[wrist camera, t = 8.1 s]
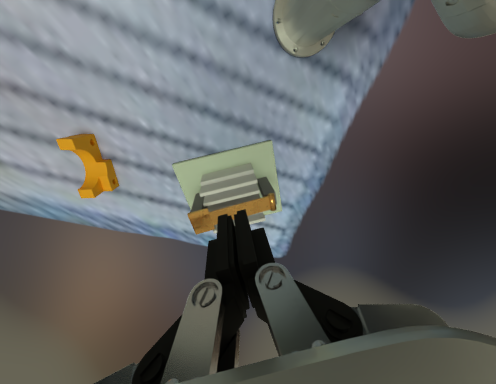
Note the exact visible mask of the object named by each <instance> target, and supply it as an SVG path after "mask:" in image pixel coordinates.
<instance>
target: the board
mask: <svg viewBox="0 0 496 384" xmlns="http://www.w3.org/2000/svg"><path fill="white" fill-rule="evenodd" d="M172 166H173V169H174V171H175V173H176V176H177V178H178V181H179V183H180V185H181V188H182V190H183V192H184V195H185V197H186V200H187V202H188V204H189V207H190V209H191V212H194V211H198V210H202V209H205V208H208V210H209V212H211V211H215V210H218V209H222V208H226V207H229V206H233V205H237V204H240V203H244V202H248V201H251V200H255V199H259V198H262V197H266V196H267V195H268V194H269V193H274V196H275V202H276V208H277V209H276V210H275V211H271V210H267V211H263V212H260V213H256V214H253V215H249V216H248V220H249V224H253V223H257V222H261V221H265V217H264V215H268V214H272V213H276V212H280V211H282V207H281V200H280V193H279V186H278V180H277V173H276V166H275V159H274V153H273V146H272V141H271V140H269V141H264V142H260V143H256V144H252V145H248V146H244V147H240V148H236V149H231V150H227V151H223V152H219V153H215V154H211V155H207V156H202V157H198V158H194V159H190V160H186V161H182V162H178V163H173V164H172ZM191 212H190V213H191ZM233 222H234V220H233ZM234 226H235V223H234ZM214 227H215V229H214V230H213V231H214V233H217V225H214Z"/></svg>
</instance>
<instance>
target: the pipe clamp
mask: <svg viewBox="0 0 496 384" xmlns="http://www.w3.org/2000/svg"><path fill="white" fill-rule="evenodd" d="M56 140H57V143H58V145H59V147H60V150H70V151H73V152H74V153H76V154H77V155H78V156H79V157H80V158H81V160H82V162H83V164H84V166H85V171H86V177H85V181H84V184H83V185H82V187H81V188H80V189H78V192H79V194H80V196H81V198H95V197H96V196H98V195H99V194H101V193H102V192H103V191H113V190H114V189H115V188H117V187H118V186H119V183H118V180H117V177H116V174H115V171H114V168H113V164H112V161H111V159H107V160H103V159H102V156H101V153H100V150H99V147H98V144H97V141H96V138H95V136H94V134H79V135H74V136H69V137H64V138H60V139H56Z"/></svg>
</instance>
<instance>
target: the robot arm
mask: <svg viewBox="0 0 496 384" xmlns="http://www.w3.org/2000/svg"><path fill="white" fill-rule="evenodd" d="M379 1H380V0H275V4H274V9H273V26H274V31H275V35H276V37H277V40H278V42H279V43H280V45H281V46H282V48H283V49H284V50H285V51H286V52H288V53H289V54H290V55H293V56H295V57H301V58H303V57H309V56H312V55H314V54H316V53H318V52H319V51H320V50H322V49H323V48H324V47H325V46H326V45H327V44H328V42H329V41H330V39H331V38H332V36H333V34H334V32H335V30H337V29H338V28H340V27H341V26H343V25H345V24H346V23H348V22H349V21H351V20H352V19H354V18H355V17H357V16H360V15H362V14H363V12H364V11H366V10H367V9H369V8H370V7H372V6H373V5H375V4H376V3H378V2H379ZM431 1H432V3H433V5H434V7H435V9H436V11H437V13H438V14H439V16H440V18H441V20H442V22H443V23H444V25H445V26H446V28H447V29H448V30H449V31H450V32H451V33H453V34H454V35H456V36H458V37H462V38H477V37H482V36H486V35H490V34H493V33H496V0H431ZM276 22H278V23H279V24H277V23H276ZM320 43H321V45H320ZM293 49H294V50H295V52H294V51H293ZM234 223H235V226H234ZM248 295H249V298H250V301H251V304H252V307H253V308H255V310H256V313H257V316H258V317H259V318H260V319H261V320H263V321H264V322H266V323H267V324H268V327H269V330H270V333H271V336H272V339H273V341H274V344H275V347H276V350H277V353H278V356H279V357H276V358H272V359H268V360H264V361H261V362H257V363H253V364H249V365H245V366H241V367H238V362H239V344H240V326H241V325H242V323H243V321H244V318H246V317H247V315H246V310H247V309H249V300H248ZM94 384H496V338H495V337H492V336H489V335H485V334H482V333H478V332H474V331H470V330H464V329H460V328H455V327H449V326H448V325H447V324H446V323H445V321H444V320H443V319H442V318H441V317H440V316H439V315H437V314H436V313H434V312H433V311H431V310H430V309H428V308H425V307H423V306H421V305H414V304H358V307H349V306H348V305H346V304H344V303H342V302H340V301H338V300H336V299H334V298H332V297H330V296H327V295H325V294H323V293H321V292H319V291H317V290H314V289H313V288H311V287H308V286H306V285H304V284H302V283H300V282H298V281H296V280H293V278H292V277H291V275H290V273H289V272H288V270H287V269H286V268H285V267H284V266H282V265H281V264H278V263H275V261H274V258H273V255H272V252H271V249H270V246H269V242H268V239H267V236H266V233H265V230H264V228H259V229H255V230H251V228H250V224H249V220H248V216H247V213H246V209H244V210H240V211H237V214H234V222H233V219H232V216H231V215H230V216H228V214H224V215H220V216H218V222H217V239H215V240H211V241H209V243H208V252H207V262H206V270H205V280H203V281H201V282H199V283H198V284H197V285H195V287H194V288H193V289H192V290H191V293H190V294H189V296H188V299H187V303H186V306H185V309H184V312H183V314H182V316H180V317H179V319H178V320H177V321H176V322H175V323H174V324H173V325H172V326H171V327H170V328H169V329H168V330H167V332H166V333H165V334H164V335H163V336H162V337H161V338H160V339H159V340H158V342H157V343H156V344H155V345H154V346H153V347H152V348H151V349H150V350H149V351H148V352H147V353H146V354H145V356H144V357H143V358H142V360H141V361H140V363H138V364H135V363H132V364H130V365H128V366H126V367H124V368H122V369H121V370H119V371H117V372H115V373H113V374H111V375H109V376H107V377H105V378H103V379H101V380H100V381H98V382H96V383H94Z"/></svg>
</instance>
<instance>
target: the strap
mask: <svg viewBox="0 0 496 384" xmlns="http://www.w3.org/2000/svg"><path fill="white" fill-rule="evenodd" d="M244 209H246V213H247V216H249V215H253V214H256V213H260V212H263V211H267V210H271V211H275V210H276V209H277V208H276V202H275V196H274V193H269V194H268V195H267V196H266V197H262V198H259V199H255V200H251V201H248V202H244V203H240V204H237V205H233V206H229V207H226V208H222V209H218V210H215V211H211V212H209V210H208V208H205V209H202V210H198V211H194V212H191V213H188V217H189V219H190V222H191V224H192V226H193V229H194V231H195V233H196V234H199V233H203V232H207V231H210V230H214V229H215V227H214V225H217V222H218V216H220V215H224V214H228V216H230V215H231V216H232V219H233V220H234V214H237V211H240V210H244Z"/></svg>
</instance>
